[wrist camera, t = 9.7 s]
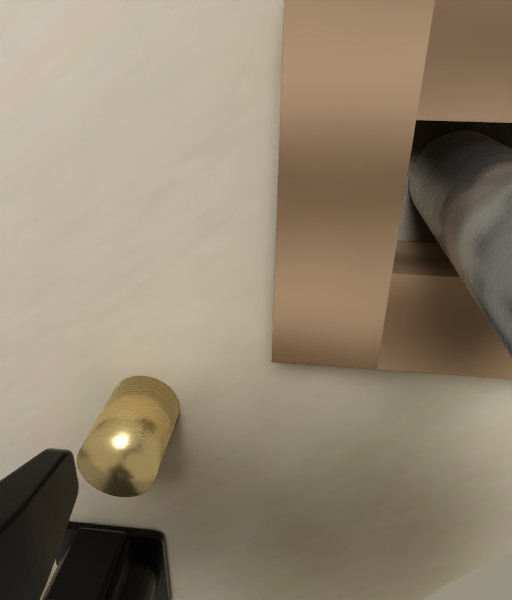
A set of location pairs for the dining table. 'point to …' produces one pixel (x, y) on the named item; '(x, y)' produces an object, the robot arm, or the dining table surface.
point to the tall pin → (471, 216)
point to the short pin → (130, 437)
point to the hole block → (378, 181)
